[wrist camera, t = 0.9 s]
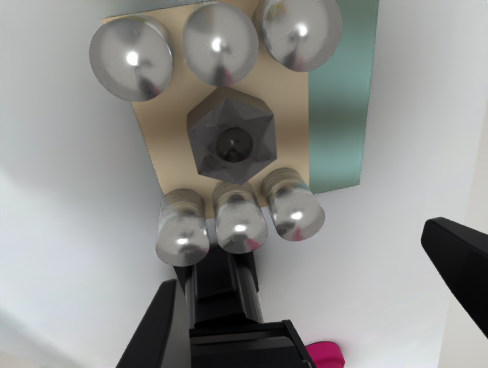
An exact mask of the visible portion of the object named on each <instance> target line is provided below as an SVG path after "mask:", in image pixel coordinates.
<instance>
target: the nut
mask: <svg viewBox="0 0 488 368" xmlns="http://www.w3.org/2000/svg"><path fill="white" fill-rule="evenodd" d="M187 133H188V137H189V141H190V145H191V149H192V153H193V157H194V160H195V164H196V168H197V172H198V175H202V176H206V177H210V178H213V179H217V180H221V181H225V182H229V183H233V184H237V185H243V184H244V183H245V182H247V181H248V180H249V179H251V178H252V177H253V176H255V175H256V174H257V173H259V172H260V171H261V170H263V169H264V168H265V167H267V166H268V165H269V164H271V163H272V162H273V161H275V160H276V159H277V148H276V135H275V122H274V114H273V112H272V111H271V110H270V109H269V107H268V106H267V105H266V103H265V102H264V101H263V100H261V99H259V98H256V97H253V96H251V95H248V94H245V93H243V92H240V91H237V90H235V89H232V88H229V87H227V86H225V87H218V88H216V89H215V90H214V91H213V92H212V93H211V94H210V95H208V96H207V97H206V98H205V99H204V100H203V101H201V102H200V103H199V104H198V105H197V106H196V107H194V108H193V109H192V110H191V111H190V112H189V113H188V114H187Z"/></svg>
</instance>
